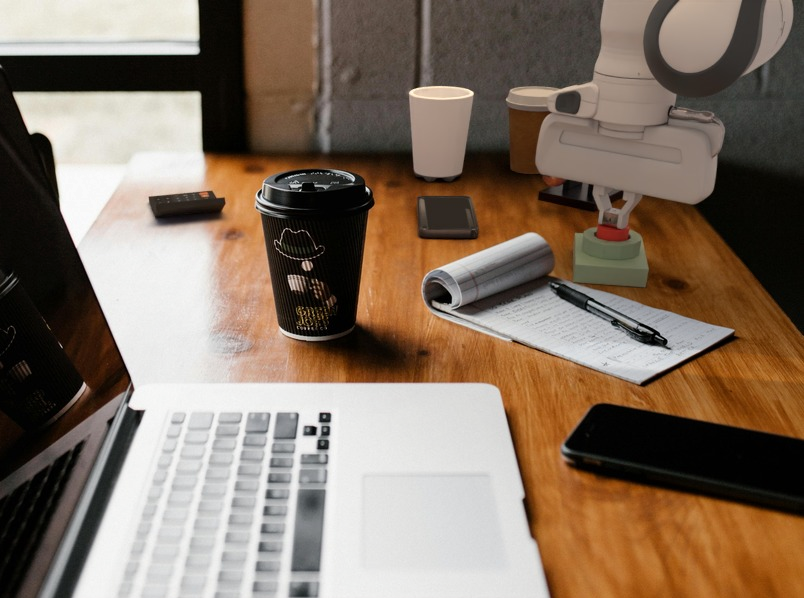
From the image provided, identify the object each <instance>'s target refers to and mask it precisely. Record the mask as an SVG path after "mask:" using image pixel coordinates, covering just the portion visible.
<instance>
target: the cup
mask: <svg viewBox="0 0 804 598" xmlns="http://www.w3.org/2000/svg"><path fill="white" fill-rule="evenodd" d="M474 95H475V92H474V91H472V90H470V89H468V88H464V87H457V86H446V85H444V86H443V85H437V86H436V85H434V86H433V85H432V86H423V87H417V88H413V89H410V91H408V100H409V101H408V103H409V116H410V133H411V147H412V148H411V149H412V162H413V173H414V176H415V177H416V178H423V179H424V180H425V181H426V182H429V183H431V182H435V181H436V180H437V179H442V180H443V181H445V182H448V183H449V182H450V183H451V182H453V181H454V180H455V179H456V178H458V177H461V176H462V173H463V168H464V163H465V162H464V160H465V156H466V148H467V142H468V135H469V129H470V122H471V115H472V109H473V103H474Z"/></svg>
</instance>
